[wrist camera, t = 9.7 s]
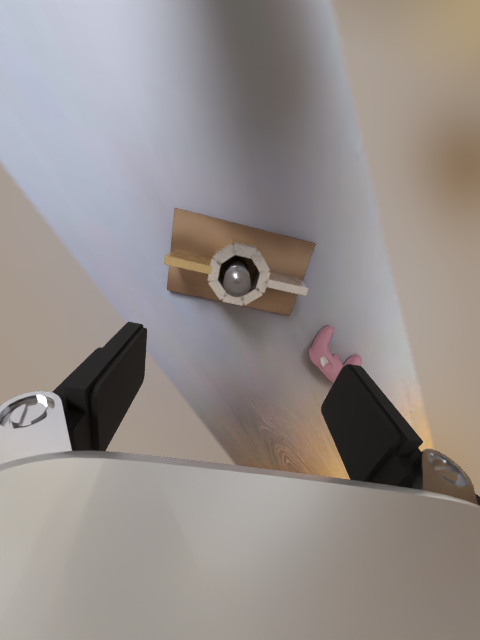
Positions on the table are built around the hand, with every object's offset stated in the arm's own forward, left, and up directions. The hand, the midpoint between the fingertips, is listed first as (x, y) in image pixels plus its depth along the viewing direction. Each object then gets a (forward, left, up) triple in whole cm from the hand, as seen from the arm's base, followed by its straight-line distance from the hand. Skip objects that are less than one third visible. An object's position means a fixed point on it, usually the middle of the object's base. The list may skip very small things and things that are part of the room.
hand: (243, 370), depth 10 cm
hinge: (0, 0, -23) cm, 23 cm away
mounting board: (0, 0, -24) cm, 24 cm away
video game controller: (+11, +19, -24) cm, 33 cm away
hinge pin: (0, 0, -23) cm, 23 cm away
